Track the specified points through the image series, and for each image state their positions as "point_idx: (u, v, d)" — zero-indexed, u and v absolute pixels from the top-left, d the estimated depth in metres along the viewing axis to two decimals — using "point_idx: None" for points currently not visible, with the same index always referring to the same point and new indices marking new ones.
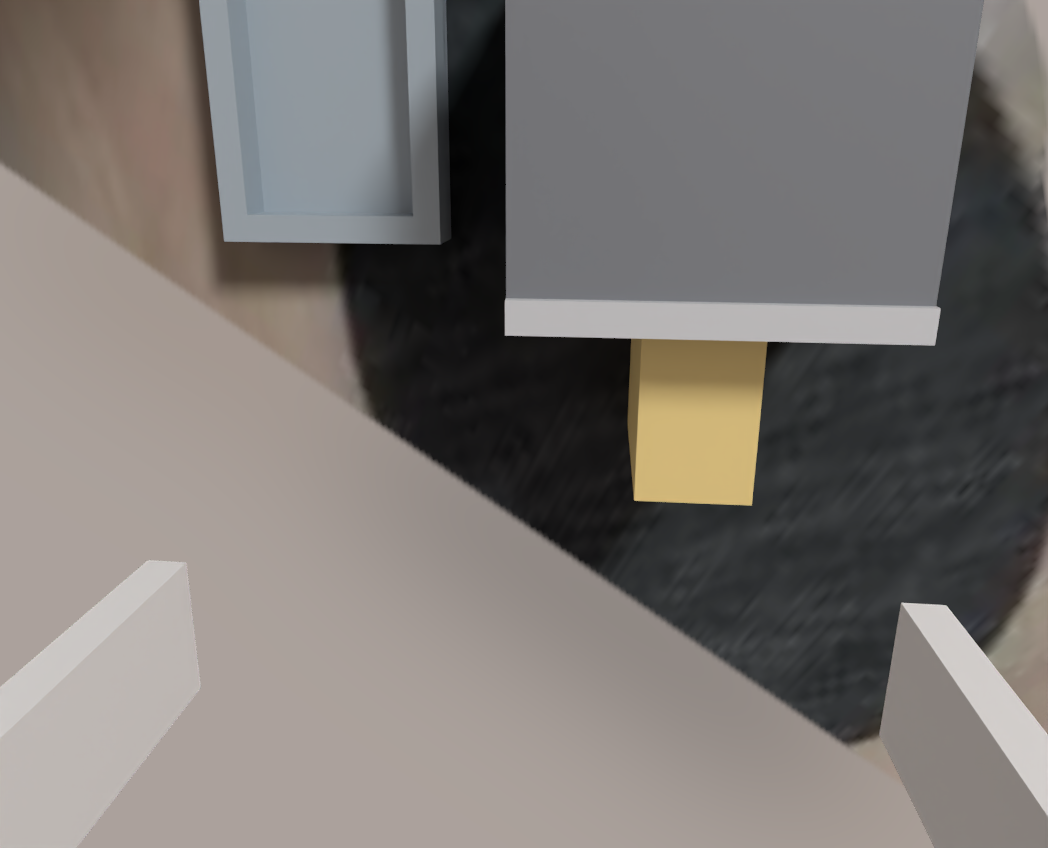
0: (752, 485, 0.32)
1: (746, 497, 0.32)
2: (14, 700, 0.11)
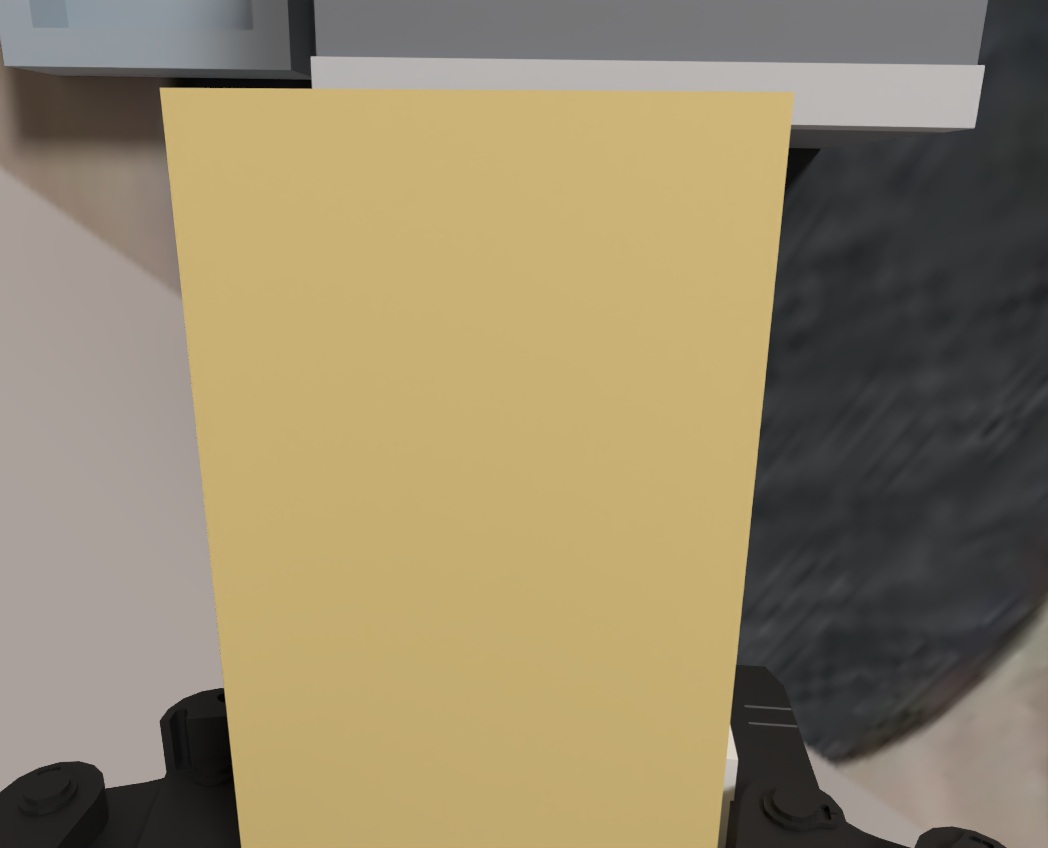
0: None
1: None
2: None
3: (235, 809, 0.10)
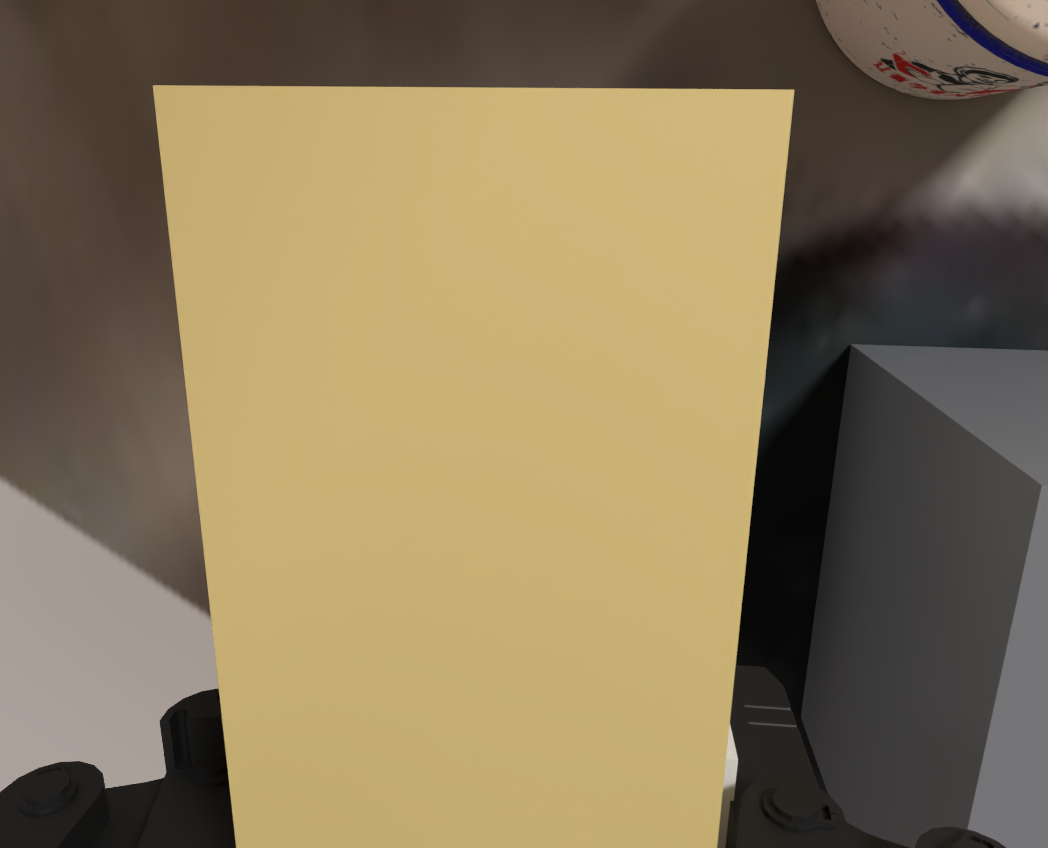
0: None
1: None
2: None
3: None
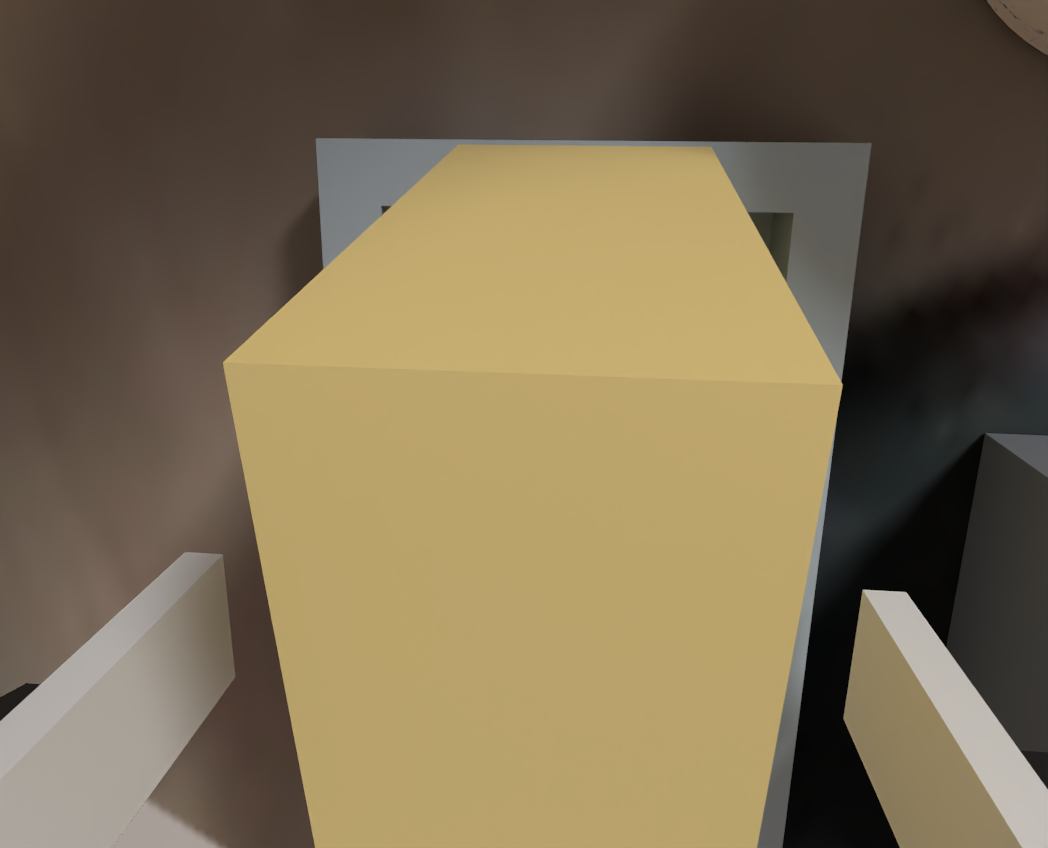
0: None
1: None
2: (68, 685, 0.12)
3: None
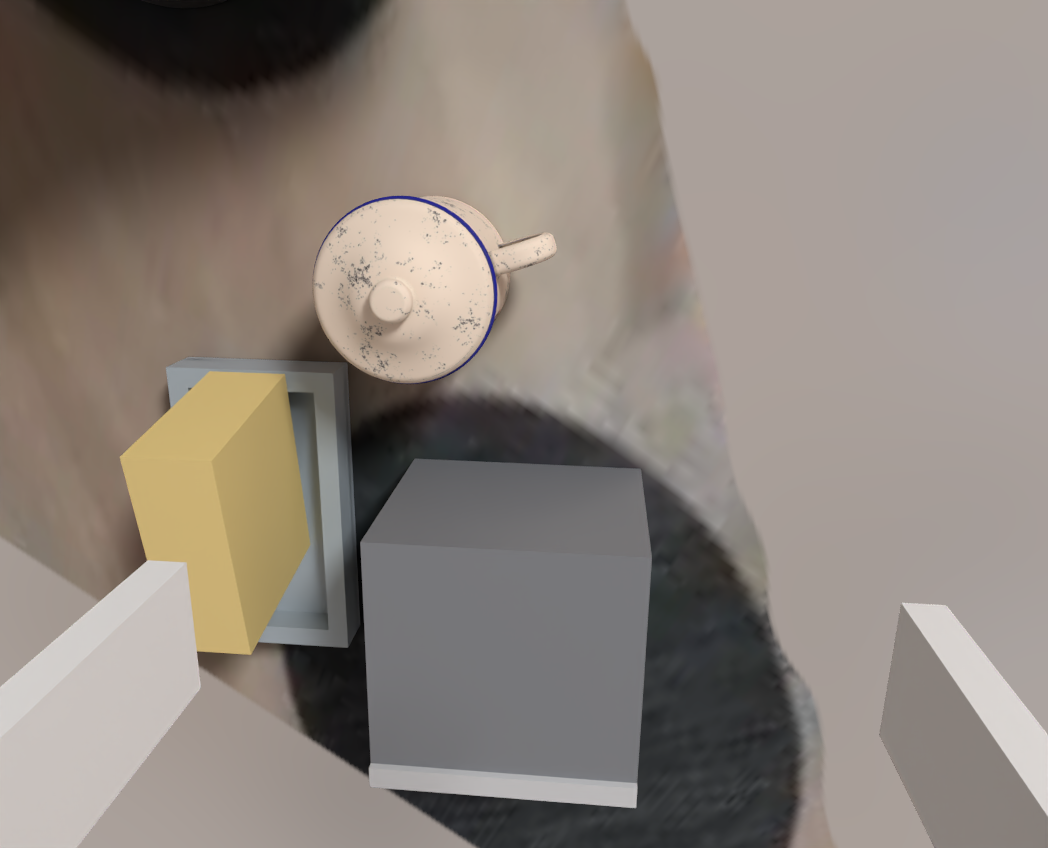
0: (248, 642, 0.44)
1: (246, 649, 0.44)
2: (14, 700, 0.11)
3: None
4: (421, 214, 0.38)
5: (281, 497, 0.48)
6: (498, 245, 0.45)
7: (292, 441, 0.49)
